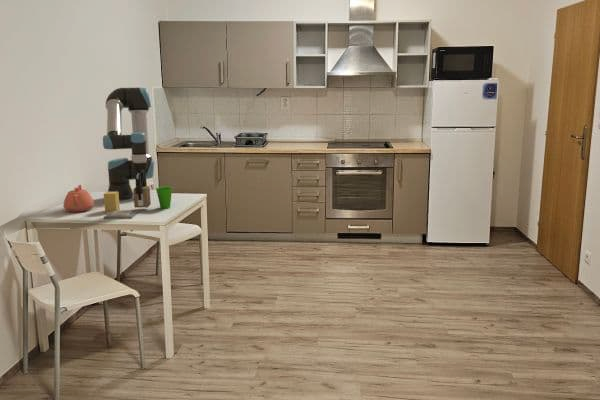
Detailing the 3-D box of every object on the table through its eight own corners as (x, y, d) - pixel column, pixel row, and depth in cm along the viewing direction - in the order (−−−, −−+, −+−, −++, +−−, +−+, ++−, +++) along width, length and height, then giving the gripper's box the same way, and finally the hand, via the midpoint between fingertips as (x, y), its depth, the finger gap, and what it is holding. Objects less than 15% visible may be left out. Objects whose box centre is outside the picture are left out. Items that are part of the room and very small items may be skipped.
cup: (176, 206, 304) (175, 187, 302) (168, 210, 296) (167, 190, 293) (162, 205, 306) (161, 186, 304) (153, 209, 298) (152, 189, 296)
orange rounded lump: (67, 206, 306) (65, 184, 304) (96, 204, 310) (94, 183, 307) (61, 215, 285) (58, 192, 283) (91, 213, 289) (89, 190, 286)
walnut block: (137, 204, 299) (136, 186, 297) (150, 204, 299) (149, 186, 297) (134, 207, 292) (133, 189, 290) (147, 207, 293) (146, 189, 290)
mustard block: (108, 209, 297) (107, 191, 295) (119, 209, 297) (118, 191, 295) (105, 212, 291) (103, 193, 289) (116, 212, 291) (115, 193, 289)
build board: (112, 212, 290) (111, 210, 290) (138, 212, 291) (138, 209, 291) (103, 218, 277) (103, 216, 276) (131, 218, 277) (131, 216, 277)
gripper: (137, 159, 300) (140, 199, 305) (127, 165, 281) (130, 208, 286) (151, 158, 300) (153, 199, 305) (142, 165, 281) (145, 208, 286)
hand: (142, 203), depth 296 cm, fingers closed on walnut block, 7 cm apart
